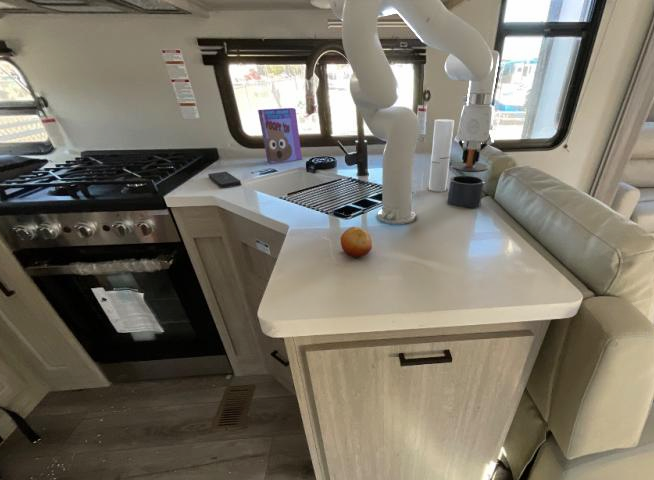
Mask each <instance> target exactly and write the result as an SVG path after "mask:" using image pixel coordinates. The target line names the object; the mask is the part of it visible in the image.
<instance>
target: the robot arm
mask: <svg viewBox="0 0 654 480" xmlns="http://www.w3.org/2000/svg"><path fill="white" fill-rule="evenodd" d="M328 3H329V6H330V9H331V11H332V13H333V14H334V16H335V17H336V18H338V19H339V20H340V21H341V40H342V41H341V42H342V47H343V51H344V54H345V57H346V58H347V61H348V63H349V65H350V67H351V69H352V71H353V73H352V74H351V77H350V80H349V93H350V96H351V99H352V101H353V103H354V105H355V107H356V109H357V111H358V112H359V114H360V116H361V118H362V119H363V121H364V123H365V125H366V126H367V128H368V130H369V131H370V133H371V134H372V135H373V136H374V137H375V138H377V139H379V140H381V141H385V142H386V143H385V146H384V150H383V154H382V165H381V169H382V175H381V177H382V179H381V181H382V185H381V187H382V190H381V191H382V193H381V194H382V196H381V197H382V199H381V205H382V206H381V210H379V211H378V212H377V215H376V219H377V220H378V221H380V222H383V223H386V224H390V225H391V224H392V225H405V224H409V223H411V222H413V221H415V220H416V216H417V215H416V213H415V211H413V210H412V207H413V189H414V173H415V171H414V170H415V156H416V148H417V144H418V139H419V136H420V130H421V129H420V128H421V127H420V126H421V125H420V120H419V117H418V115H417V114H416V112H415V111H414V110H412V109H411V108H410V107H406V106H404V105H403V106H402V105H397V104H396V103H397V101H398V99H399V95H400V87H399V84H398V80H397V78H396V75H395V74H394V72H393V69H392V67H391V65H390V63H389V60H388V58H387V56H386V53H385V51H384V48H383V46H382V44H381V41H380V38H379V32H378V20H379V18H381V17H386V16H390V15H395V14H398V15H399V17H400V18H401V19H402V20H403V21H404V22H405V24H406V25H407V26H408V27H409V28H410V29H411V30H412V31H413V32H414V34H415V35H416V36H417V38H418V39H419V40H420V42H422V43H423V44H425V45H427V46H429V47H431V48H433V49H435V50H439V51H443V52H445V53H448V54H449V55H448V56H447V57H446V59H445V63H444V70H445V73H446V75H447V77H448V78H449V79H451V80H452V81H457V82H469V84H468V92H467V94H466V95H465V94H464V95H463V96H462V100H463V101H465V103H466V104H464V105H463V107H462V110H461V114H460V117H459V124H458V129H457V133H456V134H455V136H454V139H453V140H454V142H456V143H458V144H459V146H460V147H461V149H462V157H461V160H462V162H463V163H466V159H467V152H468V148H469V147H470V146H469V145H470V142H474V143H475V142H476V152H475V153H474V160H473V164H474V165H475V164H476V163H480V159H481V152H482V150H484V149H485V148H486V147H488V146H492V144H494V143H495V141H494V138H493V134H492V131H493V121H494V105H492V103H493V97H494V91H495V86H496V79H497V73H498V67H499V61H500V52H499V51H498V50H495V49H491V48H490V47H489V45H488V43H487V42H486V41H485V39H484V38H483V36H482V35H481V33H480V32H479V31H478V30H477V29H476V28H474V27H473V26H472V25H471V24H469V23H468V22H467V21H465V20H463V19H462V18H461V17H459V16H458V15H456V14H455V13H453V12H452V11H450V10H449V9H448V8H447V7H446V6H445V5H444V3H443V2H442V1H441V0H328ZM395 104H396V105H395Z"/></svg>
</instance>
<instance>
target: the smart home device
mask: <svg viewBox="0 0 654 480" xmlns="http://www.w3.org/2000/svg"><path fill="white" fill-rule="evenodd" d="M207 175H208V178H209V179H210V180H211V181H212V182H213V183H215V184H216V185H217V186H218V187H219V188H221V189H225V188H226V189H227V188H231V187H232V188H233V187H239V186H241V185H242V182H241V180H240V179H239V178H237V177H235V176H234V175H232V173H229V171H219V172H211V173H208V174H207Z"/></svg>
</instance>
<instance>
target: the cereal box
mask: <svg viewBox="0 0 654 480" xmlns="http://www.w3.org/2000/svg"><path fill="white" fill-rule="evenodd" d="M257 113H258V118H259V124H260V129H261V133H262V140H263V145H264V151H265V155H266V156H265V157H266V161H267V164H270V165H276V164H281V163H288V162H295V161H302V160H303V157H302V149H301V141H300V133H299V126H298V125H299V124H298V118H297V109H296V108H294V107H285V108H283V107H282V108H269V109H267V108H265V109H257Z"/></svg>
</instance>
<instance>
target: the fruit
mask: <svg viewBox="0 0 654 480" xmlns="http://www.w3.org/2000/svg"><path fill="white" fill-rule="evenodd" d="M340 246H341V249H342V252H341V254H345V255H346V256H348V257H351V258H353V259H359V258H362V257H363V256H365V255H367V254H368V253H369V252H370V251H371V250H372V247H373V241H372V238H371V234H370V233H369V232H367V231H366V230H365V229H364V228H361V227H356V226H352V227H348V228H347V229H346V230H345V231H344V232H343V233H342V234H341V235H340Z"/></svg>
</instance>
